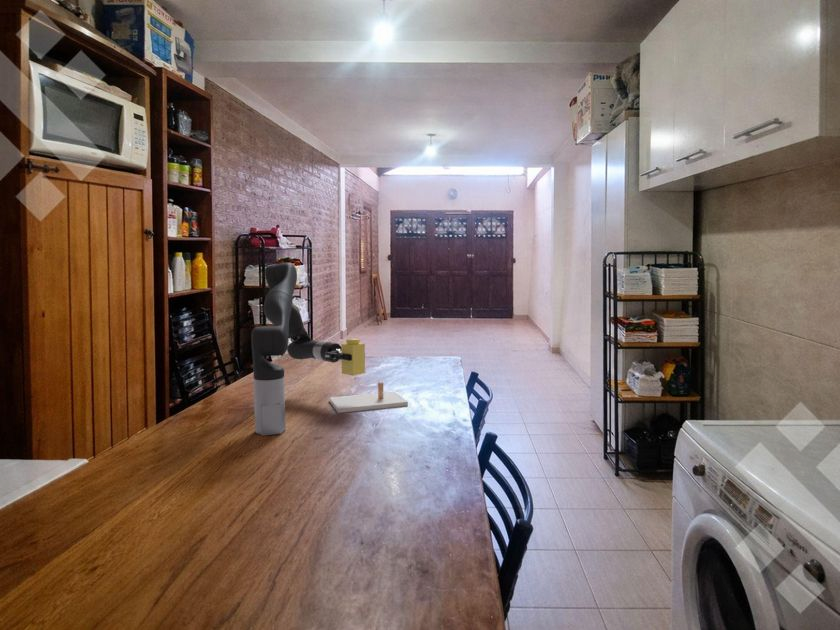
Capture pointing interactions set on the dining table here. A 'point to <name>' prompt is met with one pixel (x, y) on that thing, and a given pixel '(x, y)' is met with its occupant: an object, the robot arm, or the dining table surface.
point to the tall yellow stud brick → (353, 357)
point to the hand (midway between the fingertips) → (357, 356)
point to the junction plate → (368, 401)
